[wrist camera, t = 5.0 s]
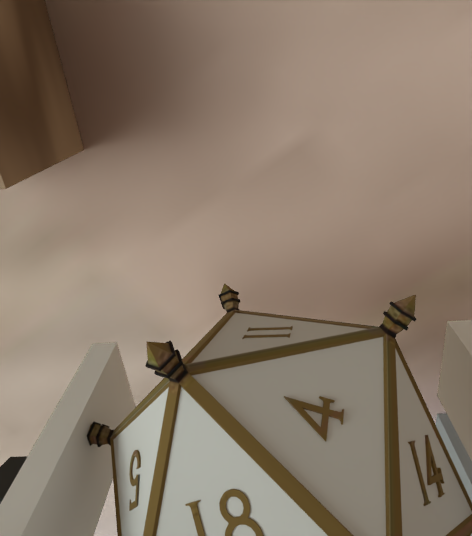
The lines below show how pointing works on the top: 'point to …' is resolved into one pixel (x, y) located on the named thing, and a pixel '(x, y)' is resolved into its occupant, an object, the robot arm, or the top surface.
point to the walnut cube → (32, 95)
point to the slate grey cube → (456, 451)
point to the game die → (285, 436)
